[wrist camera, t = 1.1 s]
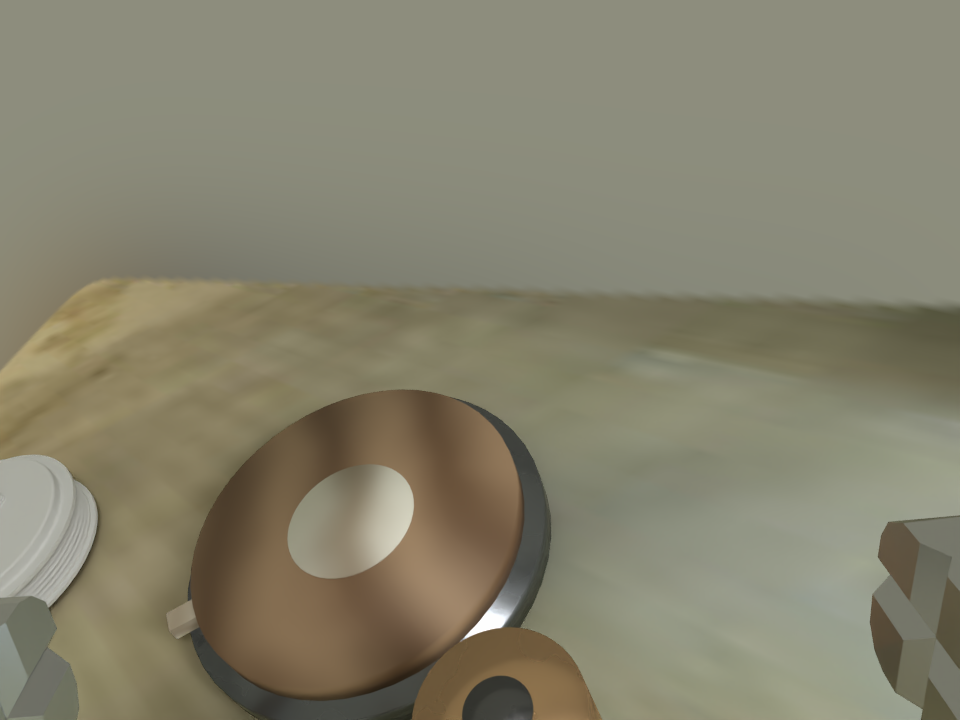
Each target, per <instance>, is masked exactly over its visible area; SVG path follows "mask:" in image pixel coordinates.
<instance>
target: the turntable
mask: <svg viewBox="0 0 960 720" xmlns="http://www.w3.org/2000/svg"><path fill="white" fill-rule="evenodd" d="M523 527H524V496H523V489H522V483H521V480H520V477H519V474H518V471H517V468H516V466H515V463H514V461H513V459H512V456H511V454H510V451H509V449H508V448H507V446H506V444H505V442H504V440H503V438H502V437H501V435H500V434H499V433H498V431H497V430H496V429H495V428H494V426H493V425H492V424H491V423H490V422H489V421H488V420H487V419H486V418H484V417H483V416H482V415H481V414H480V413H479V412H477V411H476V410H474V409H473V408H471V407H469V406H468V405H466V404H464V403H462V402H460V401H457V400H455V399H453V398H451V397H447V396H444V395H440V394H437V393H432V392H426V391H419V390H388V391H379V392H373V393H367V394H362V395H358V396H355V397H351V398H348V399H344V400H341V401H339V402H336V403H333V404H331V405H328V406H326V407H323V408H321V409H319V410H317V411H315V412H313V413H311V414H309V415H307V416H305V417H303V418H302V419H300V420H298V421H297V422H295V423H293V424H292V425H290V426H288V427H287V428H286V429H284V430H283V431H281V432H280V433H278V434H277V435H276V436H274V437H273V438H272V439H271V440H269V441H268V442H267V443H266V444H264V445H263V446H262V447H261V448H260V449H258V450H257V451H256V452H255V453H254V454H253V455H252V456H251V457H250V458H249V459H248V460H247V461H246V462H245V463H244V464H243V465H242V466H241V468H240V469H239V470H238V471H237V472H236V474H235V475H234V476H233V477H232V478H231V479H230V481H229V482H228V484H227V485H226V486H225V488H224V489H223V491H222V492H221V493H220V495H219V496H218V498H217V500H216V501H215V503H214V505H213V507H212V508H211V510H210V512H209V514H208V516H207V518H206V520H205V523H204V525H203V527H202V529H201V532H200V535H199V538H198V541H197V544H196V548H195V551H194V557H193V562H192V568H191V596H192V599H191V600H190V601H188V602H186V603H184V604H182V605H180V606H179V607H177V608H175V609H173V610H171V611H169V612H168V613H166V616H167V622H168V628H169V632H170V633H171V634H172V635H173V636H174V637H176V638H177V639H179V638H180V637H182V636H184V635H186V634H188V633H189V632H191V631H193V630H195V629H197V628H198V627H200V629H201V631H202V633H203V635H204V637H205V639H206V640H207V642H208V643H209V644H210V646H211V647H212V648H213V649H214V651H215V652H216V653H217V654H218V655H219V656H220V657H221V658H222V659H223V660H224V661H225V662H226V663H227V664H228V665H229V666H230V667H231V668H233V669H234V670H235V671H236V672H237V673H238V674H239V675H240V676H242V677H243V678H244V679H245V680H247V681H249V682H250V683H252V684H254V685H255V686H257V687H259V688H260V689H263V690H265V691H268V692H271V693H273V694H276V695H279V696H283V697H288V698H293V699H298V700H311V701H328V700H339V699H347V698H352V697H356V696H361V695H365V694H369V693H372V692H375V691H378V690H381V689H383V688H386V687H389V686H392V685H394V684H396V683H398V682H400V681H402V680H404V679H406V678H408V677H410V676H412V675H414V674H416V673H418V672H420V671H421V670H423V669H424V668H426V667H427V666H429V665H430V664H432V663H433V662H435V661H437V660H438V659H440V658H441V657H442V656H443V655H444V654H445V653H446V652H447V651H448V650H450V649H451V648H452V647H453V646H455V645H456V644H458V643H459V642H460V641H461V640H462V639H463V638H464V637H465V636H466V635H467V634H468V633H469V632H470V631H471V630H472V629H473V628H474V627H475V626H476V625H477V624H478V623H479V621H480V620H481V619H482V618H483V616H484V615H485V614H486V612H487V611H488V610H489V608H490V607H491V606H492V605H493V603H494V602H495V600H496V598H497V597H498V595H499V593H500V592H501V590H502V588H503V587H504V585H505V583H506V581H507V579H508V577H509V575H510V572H511V570H512V568H513V565H514V563H515V561H516V557H517V554H518V551H519V547H520V544H521V540H522V533H523Z"/></svg>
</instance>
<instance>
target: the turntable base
mask: <svg viewBox="0 0 960 720" xmlns="http://www.w3.org/2000/svg"><path fill="white" fill-rule="evenodd" d="M453 399H455V398H453ZM455 400H457V401H460V402H462V403H464V404H466V405H468V406H469V407H471V408H473V409H474V410H476V411H477V412H479V413H480V414H481V415H482V416H483V417H484V418H486V419H487V420H488V421H489V422H490V423H491V424H492V425H493V426H494V428H495V429H496V430H497V431H498V433H499V434H500V435H501V437H502V438H503V440H504V442H505V444H506V446H507V448H508V449H509V451H510V454H511V456H512V459H513V461H514V463H515V466H516V468H517V471H518V474H519V477H520V480H521V483H522V489H523V496H524V527H523V533H522V540H521V544H520V547H519V551H518V554H517V557H516V561H515V563H514V565H513V568H512V570H511V572H510V575H509V577H508V579H507V581H506V583H505V585H504V587H503V588H502V590H501V592H500V593H499V595H498V597H497V598H496V600H495V602H494V603H493V605H492V606H491V607H490V608H489V610H488V611H487V612H486V614H485V615H484V616H483V618H482V619H481V620H480V621H479V623H478V624H477V625H476V626H475V627H474V628H473V629H472V630H471V631H470V632H469V633H468V634H467V635H466V636H465V637H464V638H463V639H462V640H464V639H466V638H468V637H470V636H472V635H474V634H477V633H480V632H482V631H486V630H490V629H494V628H503V627H516V628H520V626H521V624H522V623H523V621H524V619H525V617H526V616H527V614H528V612H529V610H530V609H531V607H532V605H533V603H534V600H535V598H536V595H537V593H538V591H539V588H540V586H541V583H542V580H543V577H544V573H545V569H546V565H547V562H548V557H549V549H550V541H551V517H550V510H549V505H548V499H547V495H546V492H545V489H544V486H543V484H542V481H541V478H540V475H539V473H538V470H537V468H536V465H535V463H534V460H533V459H532V457H531V455H530V453H529V452H528V450H527V448H526V446H525V445H524V443H523V442H522V441H521V440H520V438H519V437H518V436H517V435H516V434H515V432H514V431H513V430H512V429H511V428H509V427H508V426H507V425H506V424H505V423H504V422H503V421H502V420H500V419H499V418H497V417H496V416H494V415H493V414H491V413H489V412H488V411H486V410H485V409H482V408H480V407H478V406H476V405H473V404H471V403H469V402H466V401H462V400H459V399H455ZM191 599H192V596H191V576H190V582H189V588H188V601H190V600H191ZM190 633H191V637H192V641H193V644H194V648H195V650H196V652H197V655H198V657H199V659H200V661H201V663H202V665H203V667H204V668H205V670H206V671H207V673H208V674H209V675H210V677H211V678H212V679H213V681H214V682H215V683H216V684H217V685H218V686H219V687H220V688H221V689H222V690H223V691H224V692H225V693H226V694H227V695H228V696H230V697H231V698H232V699H233V700H234V701H235V702H236V703H237V704H238V705H240V706H241V707H242V708H243V709H244V710H245V711H247V712H248V713H250V714H251V715H253V716H255V717H256V718H258V719H259V720H410V719H412V714H413V709H414V704H415V701H416V698H417V695H418V692H419V690H420V687H421V685H422V683H423V681H424V679H425V678H426V676H427V674H428V673H429V671H430V670H431V669H432V667H433V666H434V665H435V663H436V662H437V661H438V660H439V659H438V660H437V661H435V662H433V663H432V664H430V665H429V666H427V667H426V668H424V669H423V670H421V671H420V672H418V673H416V674H414V675H412V676H410V677H408V678H406V679H404V680H402V681H400V682H398V683H396V684H394V685H392V686H389V687H386V688H383V689H381V690H378V691H375V692H372V693H369V694H365V695H361V696H356V697H352V698H347V699H339V700H328V701H311V700H298V699H293V698H288V697H283V696H279V695H276V694H273V693H271V692H268V691H265V690H263V689H260V688H259V687H257V686H255V685H254V684H252V683H250V682H249V681H247V680H245V679H244V678H243V677H242V676H240V675H239V674H238V673H237V672H236V671H235V670H234V669H233V668H231V667H230V666H229V665H228V664H227V663H226V662H225V661H224V660H223V659H222V658H221V657H220V656H219V655H218V654H217V653H216V652H215V651H214V649H213V648H212V647H211V646H210V644H209V643H208V642H207V640H206V639H205V637H204V635H203V633H202V631H201V629H200V627H198V628H197V629H195V630H193V631H191V632H190ZM462 640H461V641H462ZM461 641H460V642H461Z"/></svg>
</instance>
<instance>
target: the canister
mask: <svg viewBox="0 0 960 720" xmlns="http://www.w3.org/2000/svg"><path fill="white" fill-rule="evenodd" d="M412 720H602V718H601V716H600V714H599V712H598V710H597V707H596V705H595V703H594V701H593V699H592V697H591V694H590V692H589V690H588V688H587V686H586V683H585V681H584V679H583V677H582V675H581V673H580V671H579V669H578V667H577V665H576V663H575V662H574V661H573V659H572V658H571V656H570V655H569V654H568V653H567V652H566V651H565V650H564V649H563V648H562V647H561V646H560V645H559V644H557V643H556V642H555V641H553V640H552V639H550V638H548V637H547V636H545V635H542V634H540V633H538V632H535V631H532V630H528V629H523V628H516V627H503V628H494V629H490V630H486V631H482V632H480V633H477V634H474V635H472V636H470V637H468V638H466V639H464V640H462V641H461V642H459V643H458V644H456V645H455V646H453V647H452V648H451V649H450V650H448V651H447V652H446V653H445V654H444V655H443V656H442V657H441V658H440V659H439V660H438V661H437V662H436V663H435V665H434V666H433V667H432V669H431V670H430V671H429V673H428V674H427V676H426V678H425V679H424V681H423V683H422V685H421V687H420V690H419V692H418V695H417V698H416V701H415V704H414V709H413V714H412Z"/></svg>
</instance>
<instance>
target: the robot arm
mask: <svg viewBox="0 0 960 720" xmlns="http://www.w3.org/2000/svg"><path fill="white" fill-rule="evenodd" d="M878 558H879V559H880V561H881V562H882V564H883V565H884V566H885V568H886V569H887V571H888V572H889V573H890V576H889V577H888V578H887V579H886V580H885V581H884V582H883V583H882V584H881V585H880V587H879V588H878V589H877V590H876V591H875V592H874V593H873V595H872V606H871V616H870V625H871V631H872V637H873V643H874V649H875V652H876V655H877V657H878V660H879V663H880V665H881V668H882V670H883V672H884V674H885V676H886V677H887V679H888V681H889V683H890V684H891V686H892V688H893V689H894V691H895V693H897V694H899V695H900V696H902V697H903V698H905V699H907V700H908V701H910V702H912V703H913V704H915V705H916V706H918V707H920V708H921V709H923V711H922V716H921V720H960V515H959V516H948V517H937V518H926V519H915V520H904V521H893V522H888V524H887V526H886V528H885V529H884V531H883V533H882V535H881V540H880V546H879V553H878ZM56 629H57V628H56V625H55V623H54V620H53V618H52V616H51V613H50V611H49V608H48V606H47V604H46V602H45V601H43V600H41V599H38V598H36V597H34V596H21V597H5V598H0V720H77V717H78V711H79V702H78V692H77V683H76V680H75V678H74V675H73V672H72V669H71V666H70V664H69V663H68V662H66V661H65V660H64V659H62V658H61V657H60V656H58V655H57V654H56V653H54V652H53V651H52V650H50V649H49V648H48V645H49V643H50V641H51V639H52V637H53V635H54V633H55V631H56Z"/></svg>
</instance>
